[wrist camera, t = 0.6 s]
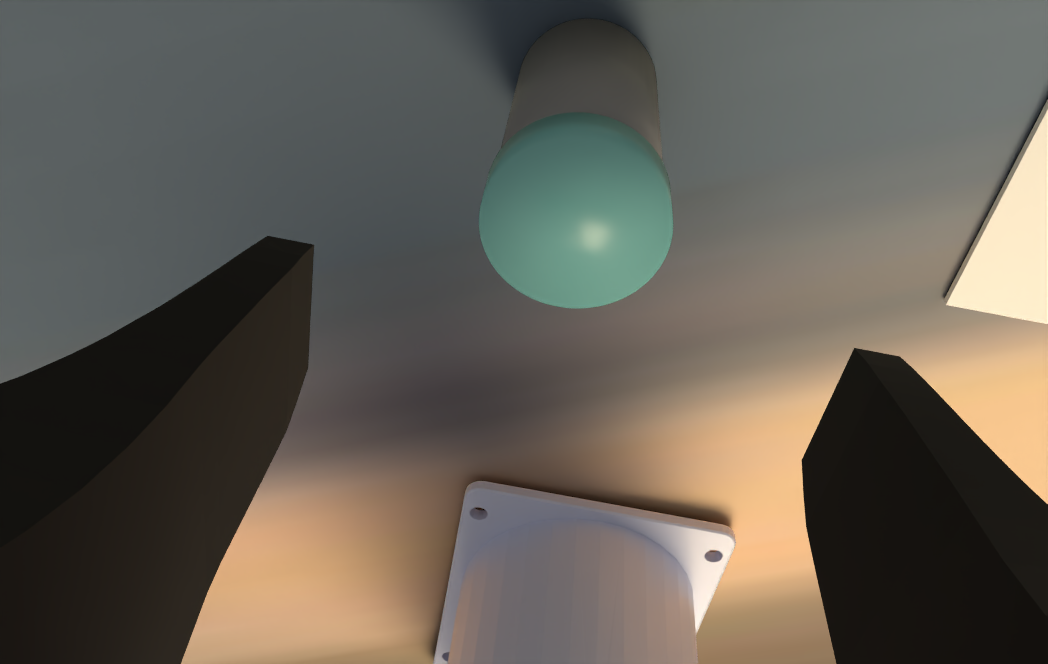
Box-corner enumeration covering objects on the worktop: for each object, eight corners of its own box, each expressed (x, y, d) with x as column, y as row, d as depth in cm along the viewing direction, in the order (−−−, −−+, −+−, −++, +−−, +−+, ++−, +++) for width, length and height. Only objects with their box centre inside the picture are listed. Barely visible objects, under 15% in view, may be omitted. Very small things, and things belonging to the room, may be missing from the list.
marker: (641, 167, 22) (646, 323, 17) (503, 140, 22) (467, 289, 17) (678, 30, 20) (696, 159, 15) (526, 0, 20) (493, 119, 15)
